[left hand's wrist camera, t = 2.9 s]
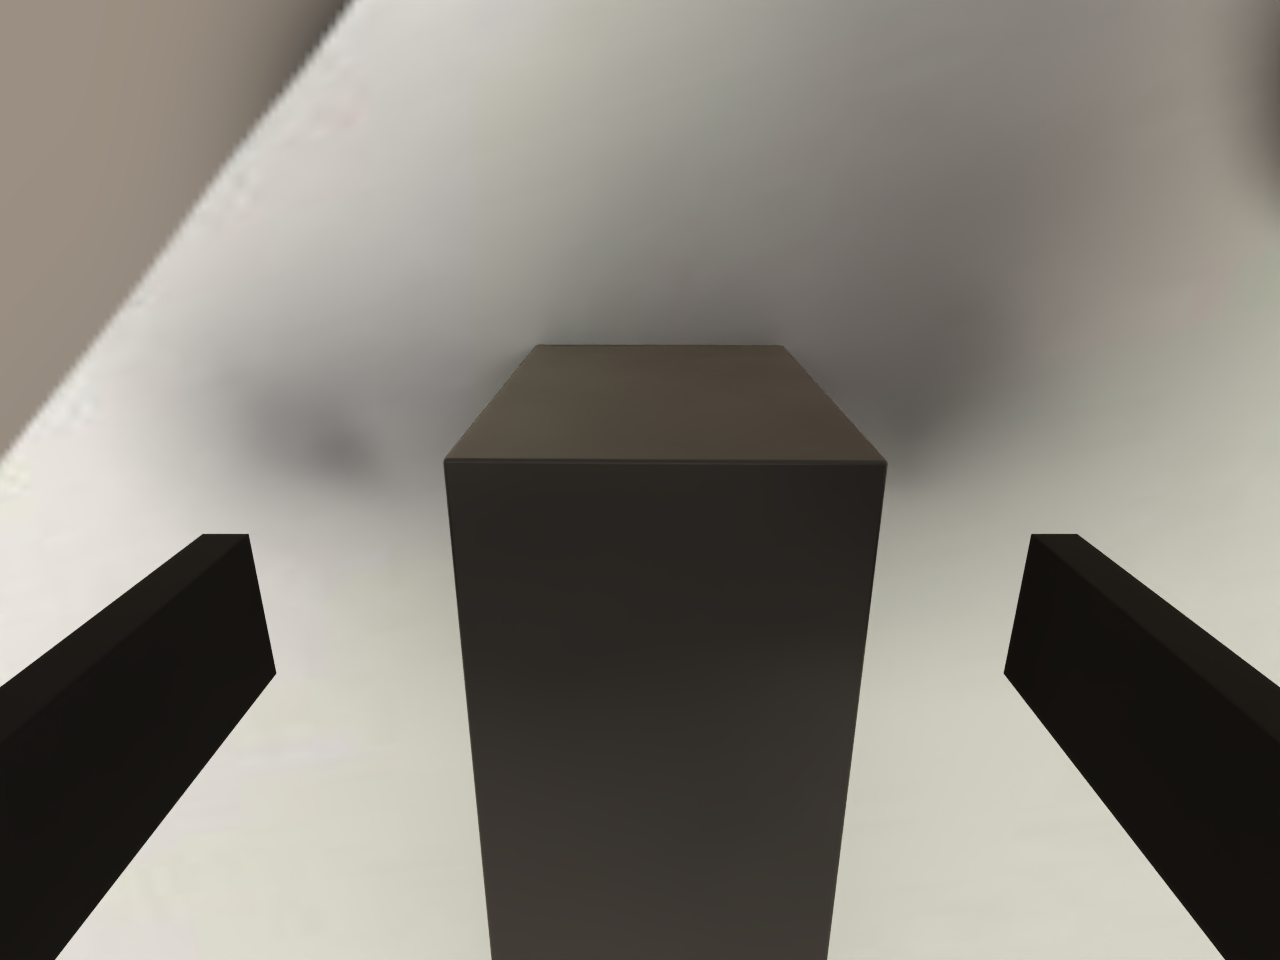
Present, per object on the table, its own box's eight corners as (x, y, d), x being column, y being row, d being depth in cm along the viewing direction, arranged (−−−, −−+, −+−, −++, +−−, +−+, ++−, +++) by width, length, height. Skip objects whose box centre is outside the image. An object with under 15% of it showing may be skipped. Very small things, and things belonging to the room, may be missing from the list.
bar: (535, 344, 18) (441, 459, 10) (784, 345, 18) (889, 461, 10) (568, 1027, 26) (532, 1385, 18) (737, 1029, 26) (774, 1391, 18)
